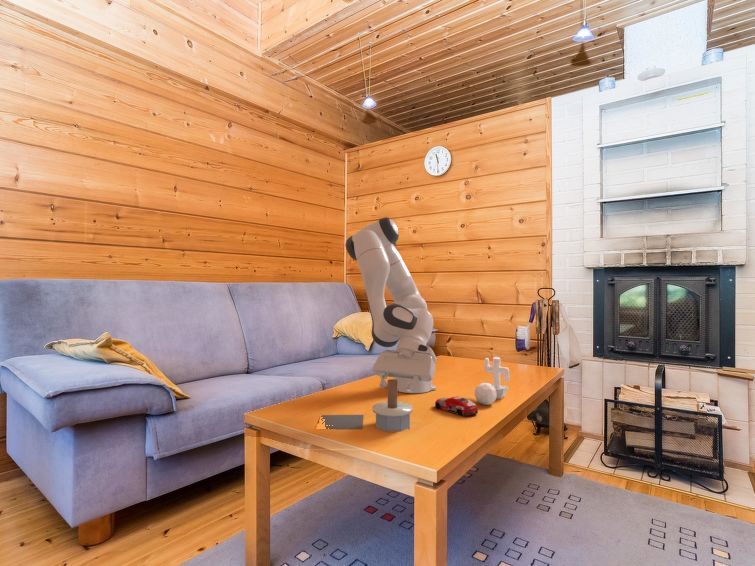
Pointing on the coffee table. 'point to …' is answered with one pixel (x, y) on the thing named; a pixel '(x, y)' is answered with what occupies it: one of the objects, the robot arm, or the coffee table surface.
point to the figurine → (497, 375)
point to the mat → (343, 421)
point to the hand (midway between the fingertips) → (395, 388)
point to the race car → (457, 405)
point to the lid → (392, 403)
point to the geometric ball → (485, 393)
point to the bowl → (393, 422)
